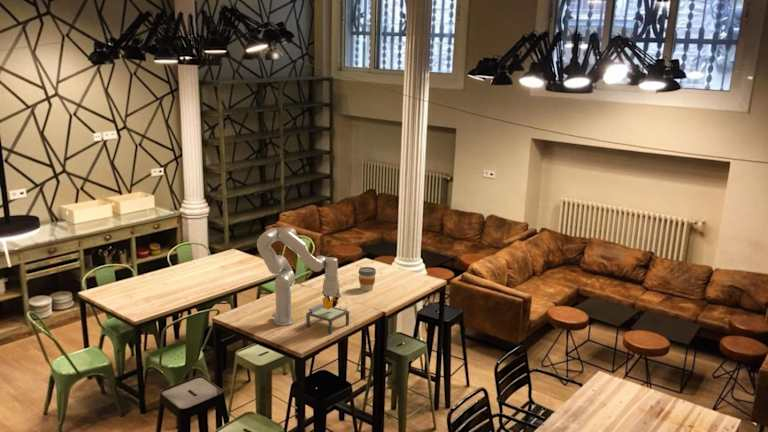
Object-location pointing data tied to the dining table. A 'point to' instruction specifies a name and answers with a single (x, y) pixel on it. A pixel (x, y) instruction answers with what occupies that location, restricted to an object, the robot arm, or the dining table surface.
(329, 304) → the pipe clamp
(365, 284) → the reusable coffee cup
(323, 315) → the trapdoor
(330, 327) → the frame
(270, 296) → the dining table surface
